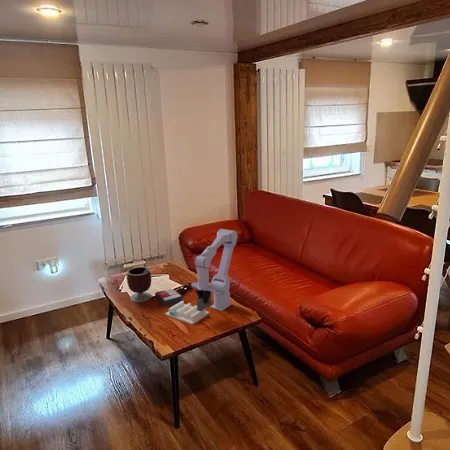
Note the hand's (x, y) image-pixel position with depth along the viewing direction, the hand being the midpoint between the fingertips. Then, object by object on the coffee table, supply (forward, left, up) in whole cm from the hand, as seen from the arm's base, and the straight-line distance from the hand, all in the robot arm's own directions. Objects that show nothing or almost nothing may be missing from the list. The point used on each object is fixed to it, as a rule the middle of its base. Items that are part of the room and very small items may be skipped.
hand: (204, 302), depth 203 cm
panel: (0, 0, -3) cm, 3 cm away
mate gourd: (+1, -47, -10) cm, 48 cm away
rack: (+2, -11, -9) cm, 14 cm away
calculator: (-7, -32, -10) cm, 34 cm away
